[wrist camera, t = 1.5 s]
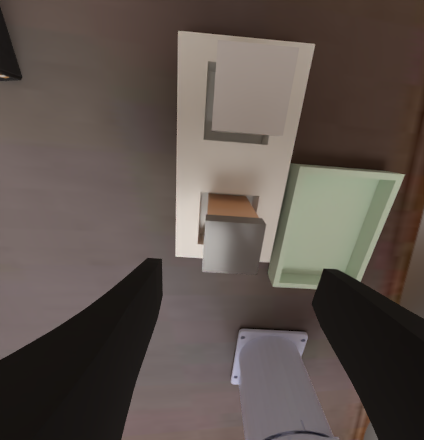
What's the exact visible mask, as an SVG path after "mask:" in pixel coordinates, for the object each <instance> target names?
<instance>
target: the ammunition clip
mask: <svg viewBox="0 0 424 440" xmlns="http://www.w3.org/2000/svg"><path fill="white" fill-rule="evenodd" d="M21 78H22V75H21V72H20V69H19V66H18V62H17V59H16V56H15V53H14V50H13V46H12V43H11V40H10V37H9V33H8V30H7V27H6V24H5V21H4V17H3V14H2V11H1V8H0V81H9V80H21Z"/></svg>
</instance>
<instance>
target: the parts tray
mask: <svg viewBox="0 0 424 440" xmlns="http://www.w3.org/2000/svg"><path fill="white" fill-rule="evenodd" d="M404 176H405V174H400V173H394V172H389V171H383V170H370V169H357V168H344V167H331V166H319V165H306V164H293V163H290V168H289V173H288V177H287V182H286V187H285V192H284V197H283V201H282V206H281V211H280V216H279V221H278V225H277V230H276V235H275V240H274V244H273V249H272V254H271V259H270V264H269V268H268V273H267V274H268V276H269V279H270V281H271V284H272V286H273V287H285V288H302V289H317V286H318V284H319V281H320V278H321V275H322V272H323V269H324V268H325V269H338V270H340V271H342V272H344V273H346V274H347V275H349V276H351V277H353V278H355V279H356V280H358V281H360V282H361V279H362V277H363V274H364V272H365V270H366V267H367V265H368V262H369V260H370V258H371V255H372V253H373V250H374V248H375V246H376V243H377V241H378V238H379V236H380V234H381V231H382V229H383V226H384V224H385V221H386V219H387V217H388V214H389V212H390V209H391V207H392V205H393V202H394V200H395V197H396V195H397V193H398V190H399V188H400V185H401V183H402V181H403V178H404Z"/></svg>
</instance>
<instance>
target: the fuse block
mask: <svg viewBox="0 0 424 440" xmlns="http://www.w3.org/2000/svg"><path fill="white" fill-rule="evenodd" d="M218 40H225V41H235V42H246V43H256V44H267V45H277V46H287V47H298V48H299V52H298V58H297V63H296V68H295V74H294V79H293V84H292V90H291V95H290V100H289V106H288V111H287V116H286V122H285V127H284V132H283V136H270V135H247V134H235V133H222V132H213V131H212V117H213V102H214V87H215V73H216V58H217V43H218ZM314 48H315V44H310V43H300V42H290V41H279V40H269V39H259V38H248V37H238V36H228V35H217V34H207V33H197V32H186V31H178V81H177V169H176V257H191V258H203V248H204V234H205V219H206V214H207V207H208V193H209V194H223V195H236V196H246V197H247V198H248V200H249V202H250V203H251V205H252V207H253V208H254V210H255V212H256V213H257V215H258V217H259V218H262V219H263V220H264V222H265V224H266V229H265V234H264V239H263V245H262V250H261V255H260V261H259V262H270V258H271V253H272V249H273V244H274V239H275V234H276V229H277V225H278V220H279V215H280V210H281V206H282V201H283V196H284V191H285V186H286V182H287V177H288V172H289V167H290V162H291V158H292V153H293V148H294V143H295V139H296V134H297V129H298V124H299V119H300V115H301V110H302V105H303V100H304V95H305V91H306V86H307V81H308V76H309V71H310V67H311V62H312V57H313V52H314Z"/></svg>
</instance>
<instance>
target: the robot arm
mask: <svg viewBox="0 0 424 440" xmlns="http://www.w3.org/2000/svg"><path fill="white" fill-rule="evenodd" d="M162 296H163V293H162V259H156V258H147V259H146V260H145V261H144V262H142V263H141V264H140V265H139V266H138V267H137V268H136V269H134V270H133V271H132V272H131V273H130V274H129V275H127V276H126V277H125V278H124V279H123V280H122V281H120V282H119V283H118V284H117V285H116V286H114V287H113V288H112V289H111V290H109V291H108V292H107V293H106V294H104V295H103V296H102V297H100V298H99V299H98V300H96V301H95V302H94V303H92V304H91V305H90V306H88V307H87V308H86V309H84V310H83V311H81V312H80V313H78V314H77V315H75V316H74V317H72V318H71V319H69V320H68V321H66V322H65V323H63V324H61V325H60V326H58V327H57V328H55V329H53V330H52V331H50V332H48V333H47V334H45V335H43V336H42V337H40V338H38V339H36V340H35V341H33V342H31V343H30V344H28V345H26V346H24V347H23V348H21V349H19V350H17V351H16V352H14V353H12V354H10V355H9V356H7V357H5V358H3V359H1V360H0V440H121V438H122V434H123V430H124V426H125V422H126V418H127V414H128V410H129V406H130V402H131V398H132V394H133V390H134V387H135V384H136V380H137V377H138V374H139V371H140V368H141V365H142V362H143V359H144V357H145V354H146V351H147V348H148V345H149V342H150V339H151V336H152V333H153V330H154V327H155V324H156V321H157V318H158V314H159V310H160V305H161V301H162ZM312 306H313V308H314V311H315V314H316V316H317V319H318V321H319V323H320V326H321V328H322V330H323V332H324V333H325V335H326V337H327V339H328V341H329V343H330V344H331V346H332V348H333V350H334V352H335V353H336V355H337V357H338V359H339V360H340V362H341V364H342V366H343V368H344V369H345V371H346V373H347V375H348V377H349V378H350V380H351V382H352V384H353V386H354V388H355V390H356V392H357V394H358V395H359V397H360V400H361V402H362V404H363V406H364V408H365V411H366V413H367V415H368V417H369V419H370V421H371V423H372V426H373V428H374V430H375V433H376V435H377V437H378V440H424V319H423V318H421V317H419V316H418V315H416V314H414V313H412V312H410V311H409V310H407V309H405V308H404V307H401V306H400V305H398V304H397V303H395V302H393V301H392V300H390V299H388V298H386V297H385V296H383V295H381V294H380V293H378V292H376V291H375V290H373V289H371V288H370V287H368V286H366V285H365V284H363V283H361V282H360V281H358V280H356V279H355V278H353V277H351V276H349V275H347V274H346V273H344V272H342V271H340V270H338V269H325V268H324V269H323V272H322V275H321V278H320V281H319V284H318V286H317V289H316V292H315V295H314V298H313V301H312ZM307 339H308V335H307V333H306V332H299V331H280V330H260V329H240V330H239V333H238V339H237V345H236V351H235V357H234V363H233V369H232V374H231V383H232V384H238V385H239V391H240V400H241V409H242V418H243V427H244V435H245V440H339V438H338V437H334V436H333V434H332V431H331V429H330V426H329V424H328V422H327V419H326V417H325V414H324V412H323V409H322V407H321V404H320V402H319V400H318V397H317V395H316V392H315V390H314V387H313V385H312V383H311V380H310V378H309V375H308V373H307V370H306V368H305V366H304V363H303V361H302V358H301V356H302V354H303V351H304V348H305V345H306V342H307Z"/></svg>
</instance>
